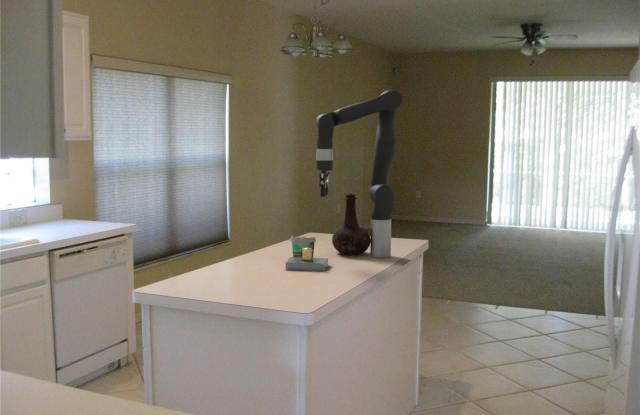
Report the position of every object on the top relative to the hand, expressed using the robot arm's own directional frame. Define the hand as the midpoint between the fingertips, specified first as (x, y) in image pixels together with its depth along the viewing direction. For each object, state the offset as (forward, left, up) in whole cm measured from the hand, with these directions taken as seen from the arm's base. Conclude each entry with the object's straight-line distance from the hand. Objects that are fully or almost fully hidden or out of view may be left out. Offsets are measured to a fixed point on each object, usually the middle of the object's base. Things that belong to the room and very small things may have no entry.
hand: (324, 195), depth 284 cm
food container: (+10, +4, -28) cm, 30 cm away
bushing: (+4, +22, -28) cm, 36 cm away
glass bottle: (-11, -13, -28) cm, 33 cm away
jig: (+4, +22, -28) cm, 36 cm away
